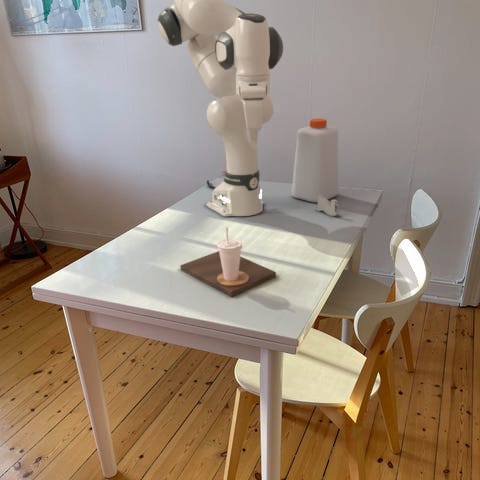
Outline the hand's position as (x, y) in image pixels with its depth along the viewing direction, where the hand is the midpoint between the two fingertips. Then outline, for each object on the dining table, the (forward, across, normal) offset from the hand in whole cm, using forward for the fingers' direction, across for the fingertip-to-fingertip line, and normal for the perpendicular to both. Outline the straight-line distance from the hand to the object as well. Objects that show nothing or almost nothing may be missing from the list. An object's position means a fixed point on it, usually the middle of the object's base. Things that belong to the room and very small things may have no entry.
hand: (253, 142), depth 136 cm
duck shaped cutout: (+31, -28, +26) cm, 49 cm away
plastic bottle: (+31, -48, +24) cm, 62 cm away
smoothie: (+29, +25, -7) cm, 39 cm away
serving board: (+31, +18, -8) cm, 37 cm away
